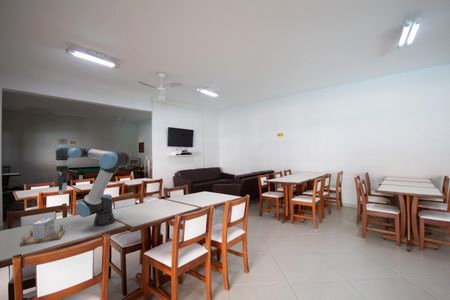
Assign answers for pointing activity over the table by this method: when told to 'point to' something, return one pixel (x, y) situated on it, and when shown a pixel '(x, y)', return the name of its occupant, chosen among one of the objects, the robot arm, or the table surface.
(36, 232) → the light bulb box
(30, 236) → the dowel base
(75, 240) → the table surface
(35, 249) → the table surface
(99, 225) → the robot arm
